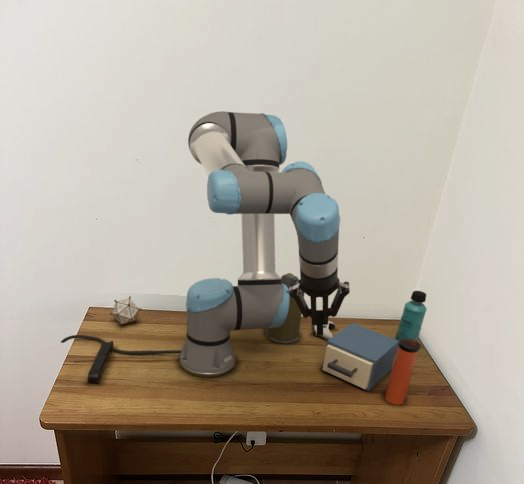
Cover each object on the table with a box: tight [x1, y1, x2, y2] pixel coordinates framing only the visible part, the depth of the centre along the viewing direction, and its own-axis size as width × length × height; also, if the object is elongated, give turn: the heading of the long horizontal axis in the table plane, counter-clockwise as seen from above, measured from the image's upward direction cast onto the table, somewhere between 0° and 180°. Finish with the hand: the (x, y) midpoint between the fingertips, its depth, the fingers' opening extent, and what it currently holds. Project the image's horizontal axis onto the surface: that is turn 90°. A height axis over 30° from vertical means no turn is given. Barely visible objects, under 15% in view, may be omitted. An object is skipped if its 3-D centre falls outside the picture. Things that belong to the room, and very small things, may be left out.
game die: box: [108, 295, 142, 328], centre depth 148 cm, size 9×8×10 cm
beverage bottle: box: [394, 290, 428, 349], centre depth 145 cm, size 6×7×20 cm
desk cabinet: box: [323, 322, 399, 392], centre depth 137 cm, size 15×15×10 cm
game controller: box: [312, 320, 336, 341], centre depth 155 cm, size 10×5×6 cm
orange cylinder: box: [384, 338, 422, 406], centre depth 124 cm, size 5×5×17 cm
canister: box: [265, 272, 305, 344], centre depth 147 cm, size 11×10×20 cm
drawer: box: [321, 344, 373, 391], centre depth 134 cm, size 18×13×8 cm
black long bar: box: [87, 339, 115, 384], centre depth 129 cm, size 18×3×3 cm, turn 2°
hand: (319, 330), depth 117 cm, fingers closed
